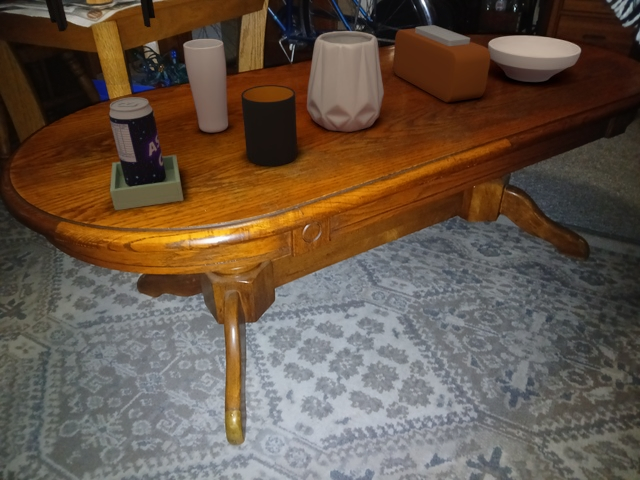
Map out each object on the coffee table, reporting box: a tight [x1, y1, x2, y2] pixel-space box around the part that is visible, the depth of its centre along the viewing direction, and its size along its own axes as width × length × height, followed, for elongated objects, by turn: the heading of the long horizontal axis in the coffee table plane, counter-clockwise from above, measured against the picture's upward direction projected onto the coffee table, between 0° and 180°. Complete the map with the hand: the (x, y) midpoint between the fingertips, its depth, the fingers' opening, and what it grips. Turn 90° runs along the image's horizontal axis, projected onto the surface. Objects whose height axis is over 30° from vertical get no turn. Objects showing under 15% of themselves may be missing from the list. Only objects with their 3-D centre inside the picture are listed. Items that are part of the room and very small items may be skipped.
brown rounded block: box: [392, 24, 491, 104], centre depth 111 cm, size 24×8×11 cm, turn 22°
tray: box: [109, 154, 184, 211], centre depth 74 cm, size 9×9×3 cm
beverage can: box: [108, 96, 166, 187], centre depth 71 cm, size 6×6×12 cm
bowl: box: [487, 35, 582, 83], centre depth 116 cm, size 20×20×7 cm
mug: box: [240, 84, 298, 167], centre depth 83 cm, size 8×12×10 cm
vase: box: [306, 30, 385, 133], centre depth 92 cm, size 14×14×15 cm
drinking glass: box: [182, 38, 229, 134], centre depth 90 cm, size 7×7×15 cm
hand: (106, 26), depth 62 cm, fingers open, 9 cm apart
